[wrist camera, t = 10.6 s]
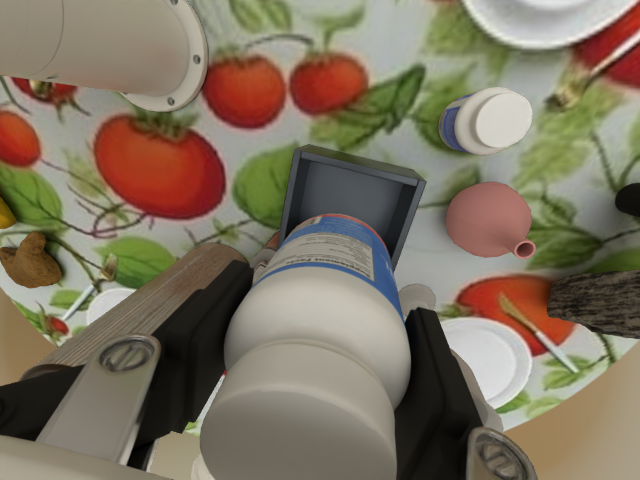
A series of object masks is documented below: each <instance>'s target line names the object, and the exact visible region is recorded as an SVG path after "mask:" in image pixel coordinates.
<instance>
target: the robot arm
mask: <svg viewBox="0 0 640 480" xmlns="http://www.w3.org/2000/svg"><path fill="white" fill-rule="evenodd" d="M177 1H178V3H177ZM199 59H201V61H200V62H199ZM207 65H208V48H207V42H206V38H205V33H204V30H203V28H202V25H201V22H200V20H199V18H198V16H197V15H196V13H195V11H194V9H193V8H192V7H191V5H190V4H189V3H188V2H187V0H0V75H3V76H10V77H18V78H25V79H32V80H39V81H46V82H53V83H60V84H68V85H75V86H82V87H89V88H96V89H103V90H110V91H117V92H119V93H120V94H121V95H122V96H123V97H125V98H126V99H127V100H128V101H129V102H131V103H133V104H135V105H136V106H138V107H140V108H143V109H146V110H149V111H156V112H170V111H174V110H178V109H180V108H182V107H184V106H186V105H187V104H188V103H189V102H191V101H192V100H193V99H194V98H195V96H196V95H197V94H198V93H199V91H200V89H201V87H202V85H203V83H204V80H205V76H206V73H207ZM174 101H175V103H174ZM253 277H254V268H250V264H249V263H247V262H243V261H239V260H235V259H234V260H232V261H231V262H230V263H229V264H228V265H227V266H226V267H225V269H224V270H223V271H222V272H221V273H220V274H219V275H218V276H217V277H216V278H215V279H214V280H213V281H212V282H211V283H210V284H209V285H208V286H207V287H206V288H205V289H197V290H196V291H195V292H194V293H193V294H192V295H191V296H190V297H188V298H187V299H186V300H185V301H184V302H183V303H182V304H181V305H180V306H179V307H178V308H177V309H176V310H175V311H174V312H173V313H172V314H171V315H170V316H169V317H168V318H167V319H166V320H165V321H164V322H163V323H162V324H161V325H160V326H159V327H158V328H157V329H156V330H155V331H154V332H153V333H152V334H151V335H149V334H145V333H127V334H123V335H119V336H116V337H114V338H111V339H109V340H107V341H106V342H104V343H103V344H101V345H100V346H99V347H98V348H97V349H96V350H95V351H94V352H93V354H92V355H91V357H90V358H89V360H88V361H87V363H86V364H83V365H79V366H76V367H72V368H68V369H64V370H60V371H57V372H53V373H49V374H45V375H42V376H38V377H34V378H30V379H26V380H23V381H19V382H15V383H11V384H7V385H4V386H0V480H173V479H169V478H166V477H162V476H159V475H156V474H152V473H150V470H151V466H152V463H153V460H154V456H155V453H156V449H157V446H158V442H159V439H160V437H162V436H165V435H167V434H169V433H170V432H171V431H174V432H177V433H181V434H182V432H183V431H184V429H185V427H186V426H187V424H188V422H192V423H194V422H195V421H196V420H197V418H198V417H199V415H200V413H201V411H202V409H203V408H204V406H205V404H206V402H207V401H208V399H209V397H210V395H211V394H212V392H213V390H214V388H215V387H216V385H217V383H218V381H219V380H220V378H221V376H222V374H223V372H224V371H225V369H226V367H225V361H224V341H225V336H226V332H227V328H228V326H229V323H230V321H231V318H232V316H233V315H234V313H235V311H236V310H237V308H238V307H239V305H240V304H241V302H242V301H243V299H244V298H245V296H246V295H247V293H248V292H249V291H250V289H251V288H252V284H253ZM405 327H406V332H407V337H408V342H409V347H410V354H411V375H410V380H409V384H408V387H407V390H406V393H405V395H404V397H403V399H402V401H401V402H400V404H399V405H398V407H397V408H396V409H395V411H394V418H395V445H396V459H397V474H396V480H538V478H537V475H536V472H535V469H534V466H533V465H532V463H531V462H530V460H529V458H528V457H527V455H526V454H525V453H524V452H523V451H522V449H521V448H520V447H519V446H518V445H517V444H516V443H514V442H513V441H512V440H511V439H509V438H508V437H507V436H505V435H503V434H502V433H501V432H499V431H496V430H494V429H492V428H488V427H484V426H483V423H482V421H481V418H480V416H479V413H478V411H477V408H476V406H475V403H474V401H473V398H472V396H471V393H470V391H469V388H468V386H467V383H466V381H465V378H464V375H463V373H462V370H461V368H460V365H459V363H458V361H457V359H456V357H455V356H453V355H452V353H451V350H450V348H449V345H448V342H447V340H446V337H445V335H444V332H443V329H442V327H441V324H440V322H439V319H438V317H437V314H436V312H435V311H433V310H429V309H425V308H422V307H417V308H416V310H413V309H411V310H410V312H409V314H408V317H407V319H406V322H405Z"/></svg>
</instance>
